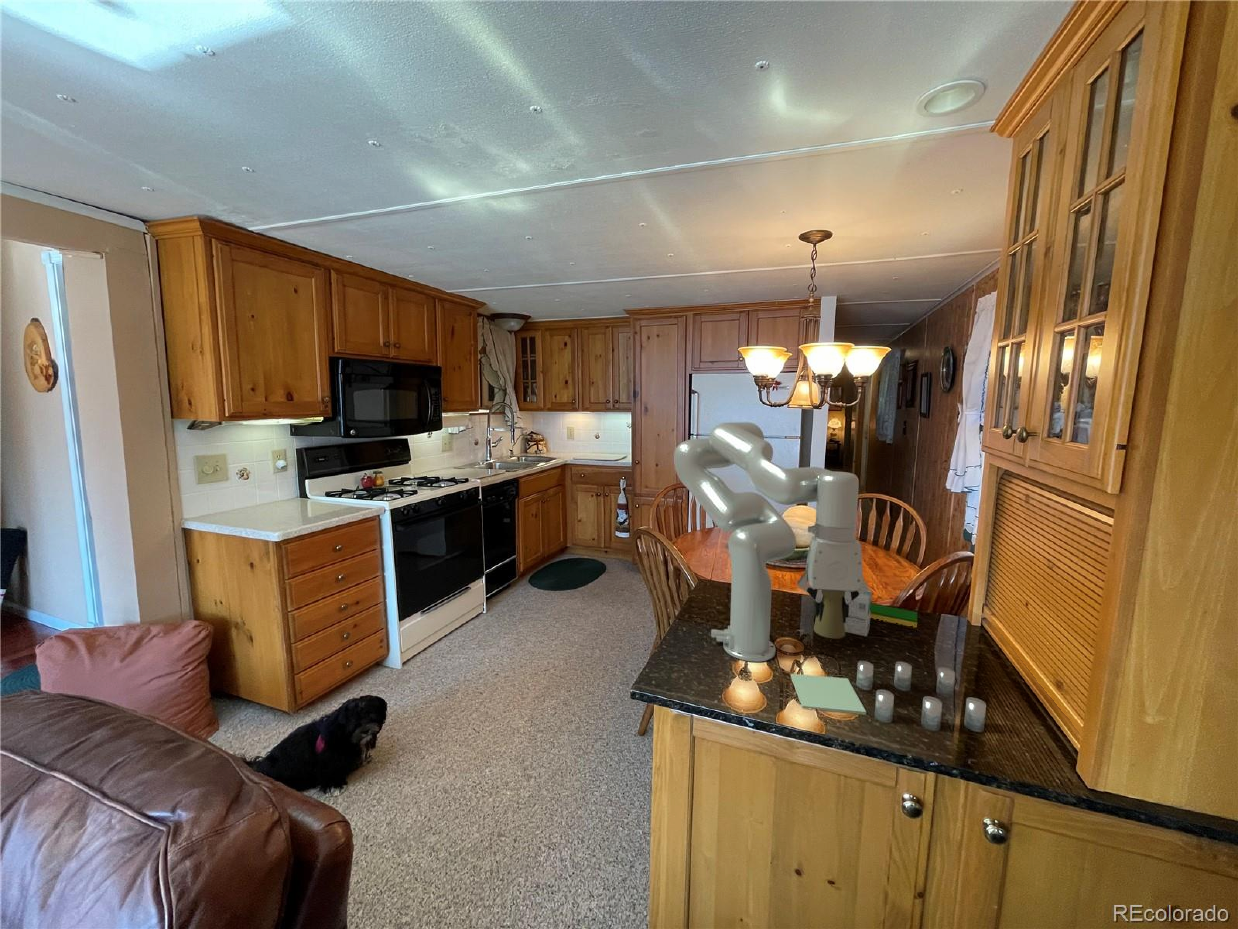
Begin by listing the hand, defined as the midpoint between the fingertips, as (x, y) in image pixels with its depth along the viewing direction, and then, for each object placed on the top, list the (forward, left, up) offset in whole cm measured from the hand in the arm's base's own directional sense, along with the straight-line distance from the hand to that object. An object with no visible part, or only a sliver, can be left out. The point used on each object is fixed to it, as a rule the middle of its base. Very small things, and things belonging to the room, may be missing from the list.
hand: (830, 618), depth 100 cm
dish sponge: (+28, +43, -17) cm, 54 cm away
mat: (0, 0, -17) cm, 17 cm away
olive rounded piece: (0, 0, -3) cm, 3 cm away
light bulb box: (+14, +34, -17) cm, 40 cm away
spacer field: (+17, -1, -17) cm, 24 cm away
